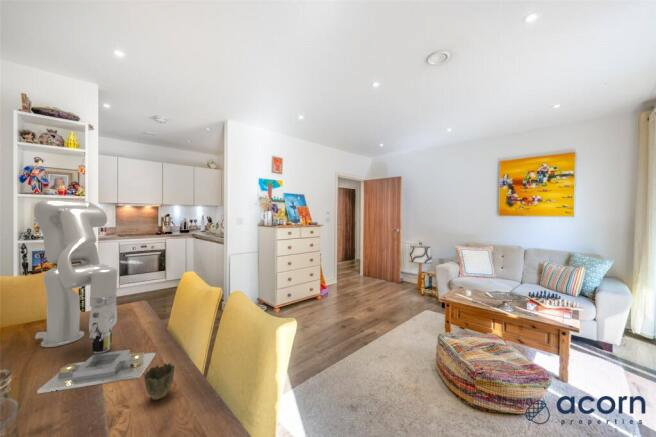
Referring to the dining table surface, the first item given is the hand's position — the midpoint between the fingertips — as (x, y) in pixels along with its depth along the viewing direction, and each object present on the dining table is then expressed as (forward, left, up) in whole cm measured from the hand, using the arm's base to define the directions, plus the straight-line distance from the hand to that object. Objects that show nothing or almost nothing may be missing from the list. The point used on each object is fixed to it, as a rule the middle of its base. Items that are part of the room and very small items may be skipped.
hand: (102, 346), depth 95 cm
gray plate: (+7, -14, -3) cm, 15 cm away
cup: (+29, -33, -3) cm, 43 cm away
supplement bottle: (0, 0, -2) cm, 2 cm away
